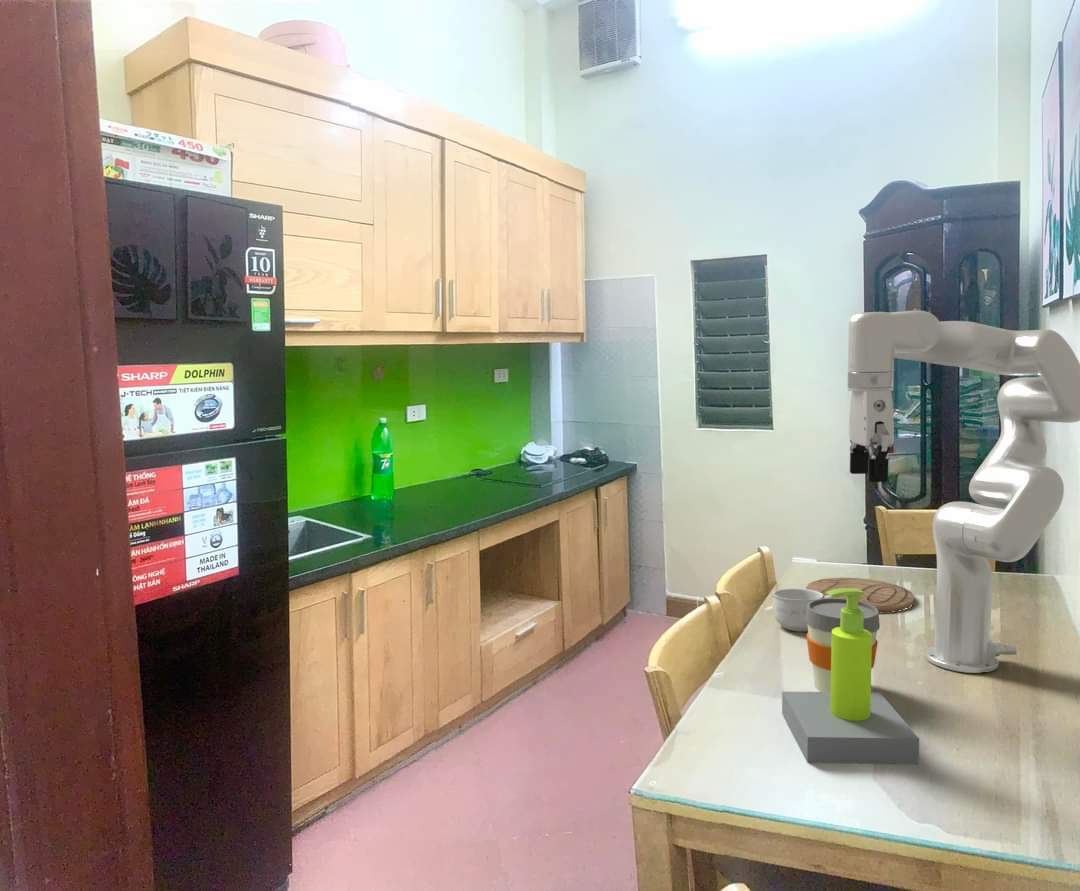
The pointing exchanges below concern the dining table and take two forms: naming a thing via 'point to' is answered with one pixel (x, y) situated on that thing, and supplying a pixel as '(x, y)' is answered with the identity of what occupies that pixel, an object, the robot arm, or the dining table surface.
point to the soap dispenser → (850, 661)
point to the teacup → (794, 607)
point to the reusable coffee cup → (819, 637)
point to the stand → (848, 731)
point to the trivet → (869, 592)
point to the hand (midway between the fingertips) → (868, 477)
